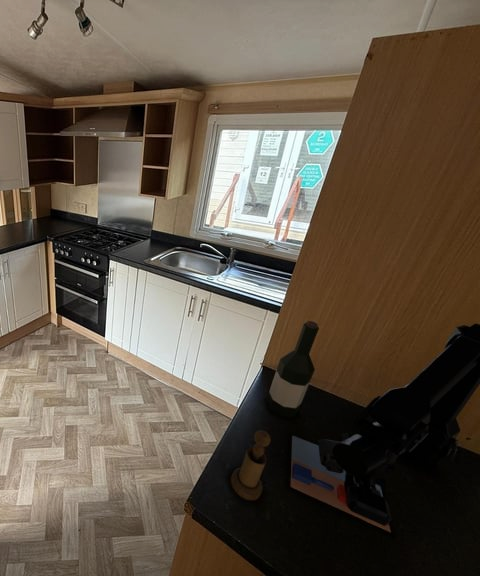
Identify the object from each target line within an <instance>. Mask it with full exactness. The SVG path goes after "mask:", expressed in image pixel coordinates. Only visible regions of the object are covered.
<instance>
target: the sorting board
mask: <svg viewBox="0 0 480 576" xmlns="http://www.w3.org/2000/svg"><path fill="white" fill-rule="evenodd" d="M294 463H296V464H298V465H300V466H303V467H305V468H308V469H310V470H312V477H314V478H317V479H319V480H321V481H323V482H326V483H328V484H330V485H332V486H333V487H334V490H333V491H331V490H328V489H326V488H324V487H322V486H319V485H317V484H315V483H312V482H311V484H310V486H309V485H307V484H305V483H302V482H300V481H298V480H296V479H293V478H292V467H293V465H294ZM345 472H346V471H345V470H343V473H341V474H340V473H335V472H330V471H328V470H327V469H326V467H325V466H323V465H322V464H321V463H320V455H319V444H315V443H313V442H310V441H308V440H305V439H303V438H300V437H298V436H295V435H292V436H291V466H290V488H292V489H295V490H297V491H299V492H301V493H302V494H305V495H308V496H309V497H312V498H314V499H317V500H319V501H320V502H323V503H325V504H327V505H330V506H331V507H334V508H337V509H339V510H340V511H343V512H345V513H347V514H349V515H352V516H354V517H357V519H358V518H359V519H360V520H363V521H365V522H366V523H369V524H371V525H373V526H376V527H378V528H381V529H382V530H384V531H387V532H389V533H391V532H392V531H391V526H390V523H389V524H388V525H386V526H383V525H381V524H379V523H377V522H374V521H372V520H370V519H368V518H366V517H363V516H361V515H359V514H357V513H354V512H352V511H351V510H350V509H349V508H348V507H347V505H346V503H344V502H341V501H339V500H338V495H337V487H338V486H339V484H341V485H343V486H344V482H345ZM375 486H376V489H377V490H379V491H380V493H381V496H382V497H384V496H383V491H382V486H379V485H377V484H375Z"/></svg>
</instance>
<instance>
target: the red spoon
mask: <svg viewBox="0 0 480 576" xmlns="http://www.w3.org/2000/svg"><path fill="white" fill-rule="evenodd" d="M337 495H338V500H339V501H341V502H344V503H346V501H347V500H346V493H345V488H344V486H343V485H341V484H339V486H338V487H337Z"/></svg>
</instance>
